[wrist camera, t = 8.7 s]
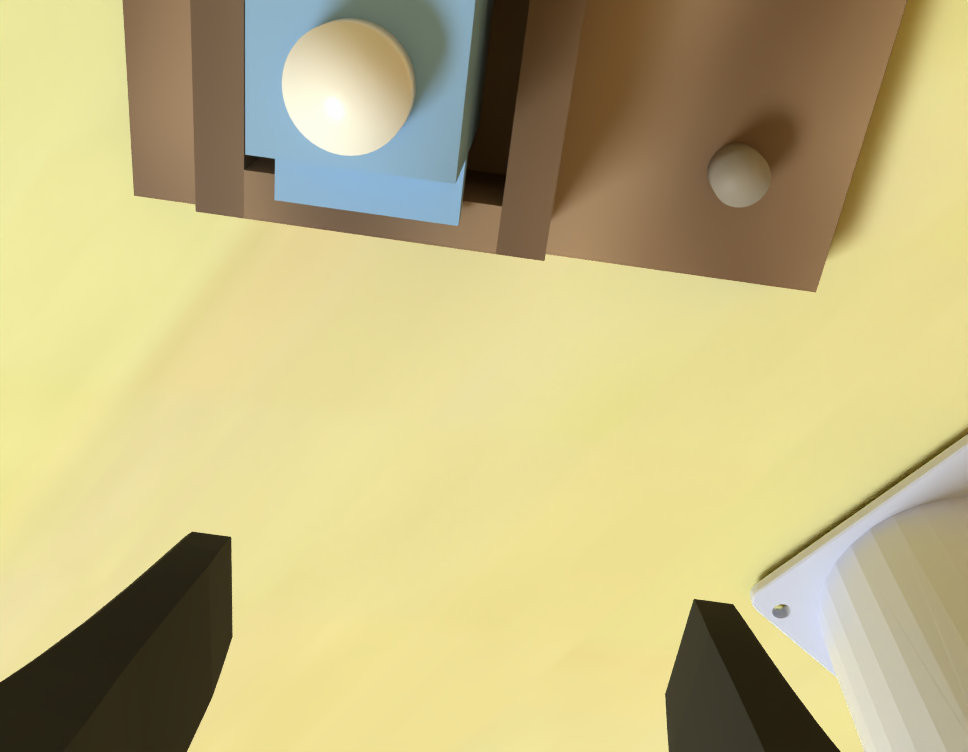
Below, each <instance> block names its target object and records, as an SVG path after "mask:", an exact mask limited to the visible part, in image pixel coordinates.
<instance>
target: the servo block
mask: <svg viewBox="0 0 968 752" xmlns="http://www.w3.org/2000/svg"><path fill="white" fill-rule="evenodd" d="M493 5H494V0H245V155H252V156H259V157H266V158H273V159H275V196H274V200H277V201H284V202H291V203H298V204H305V205H312V206H320V207H327V208H334V209H341V210H348V211H355V212H362V213H369V214H376V215H383V216H390V217H397V218H405V219H412V220H419V221H426V222H433V223H440V224H447V225H454V226H458V225H459V222H460V219H461V212H462V203H463V194H464V185H465V177H466V168H467V159H468V152H469V150H470V147H471V145H472V142H473V140H474V138H475V135H476V133H477V130H478V128H479V125H480V117H481V108H482V100H483V91H484V82H485V74H486V65H487V57H488V48H489V40H490V31H491V23H492V14H493Z"/></svg>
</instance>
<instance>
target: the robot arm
mask: <svg viewBox="0 0 968 752" xmlns="http://www.w3.org/2000/svg"><path fill="white" fill-rule="evenodd" d="M750 598H751V602H752V605H753V607H754V608H755V609H756V610H757V611H758V612H759V613H760V614H761V615H763V616H764V617H765V618H766V619H767V620H769V621H770V622H771V623H772V624H773V625H775V626H776V627H777V628H778V629H779V630H781V631H782V632H783V633H784V634H785V635H786V636H788V637H789V638H790V639H791V640H792V641H794V642H795V643H796V644H797V645H798V646H800V647H801V648H802V649H803V650H804V651H806V652H807V653H808V654H809V655H810V656H812V657H813V658H814V659H815V660H816V661H818V662H819V663H820V664H821V665H822V666H824V667H825V668H826V669H827V670H828V671H829V672H831V673H832V674H833V675H834V676H835V677H837V679H838V681H839V684H840V687H841V690H842V692H843V695H844V698H845V700H846V703H847V706H848V709H849V711H850V714H851V717H852V720H853V722H854V725H855V728H856V730H857V733H858V736H859V739H860V741H861V744H862V747H863V749H864V752H968V434H967V435H966V436H964V437H963V438H961V439H960V440H959V441H957V442H956V443H954V444H953V445H951V446H950V447H949V448H947V449H946V450H944V451H943V452H942V453H940V454H939V455H937V456H936V457H934V458H933V459H932V460H930V461H929V462H927V463H926V464H925V465H923V466H922V467H920V468H919V469H918V470H916V471H915V472H913V473H912V474H910V475H909V476H908V477H906V478H905V479H903V480H902V481H901V482H899V483H898V484H896V485H895V486H893V487H892V488H891V489H889V490H888V491H886V492H885V493H884V494H882V495H881V496H879V497H878V498H876V499H875V500H874V501H872V502H871V503H869V504H868V505H867V506H865V507H864V508H862V509H861V510H859V511H858V512H857V513H855V514H854V515H852V516H851V517H850V518H848V519H847V520H845V521H844V522H842V523H841V524H840V525H838V526H837V527H835V528H834V529H833V530H831V531H830V532H828V533H827V534H826V535H824V536H823V537H821V538H820V539H818V540H817V541H816V542H814V543H813V544H811V545H810V546H809V547H807V548H806V549H804V550H803V551H801V552H800V553H799V554H797V555H796V556H794V557H793V558H792V559H790V560H789V561H787V562H786V563H784V564H783V565H782V566H780V567H779V568H777V569H776V570H775V571H773V572H772V573H770V574H769V575H767V576H766V577H765V578H763V579H762V580H760V581H759V582H758V583H756V584H755V585H754V586H753V587H752V588H751V591H750ZM779 604H785V605H786V606H785V607H784V608H781V609H774V607H775V606H777V605H779ZM231 639H232V565H231V537H227V536H220V535H213V534H205V533H198V532H191V533H190V534H188V535H187V536H185V537H184V538H183V539H182V540H181V541H180V542H178V543H177V544H176V545H175V546H174V547H173V548H172V549H171V550H169V551H168V552H167V553H166V554H165V555H164V556H163V557H162V558H160V559H159V560H158V561H157V562H156V563H155V564H154V565H152V566H151V567H150V568H149V569H148V570H147V571H146V572H144V573H143V574H142V575H141V576H140V577H139V578H137V579H136V580H135V581H134V582H133V583H132V584H131V585H129V586H128V587H127V588H126V589H125V590H123V591H122V592H121V593H120V594H119V595H117V596H116V597H115V598H114V599H112V600H111V601H110V602H109V603H108V604H106V605H105V606H104V607H103V608H101V609H100V610H99V611H98V612H97V613H95V614H94V615H93V616H92V617H90V618H89V619H88V620H87V621H85V622H84V623H83V624H81V625H80V626H79V627H77V628H76V629H75V630H73V631H72V632H71V633H69V634H68V635H67V636H65V637H64V638H63V639H61V640H60V641H59V642H57V643H56V644H55V645H53V646H52V647H51V648H49V649H48V650H47V651H45V652H44V653H43V654H41V655H40V656H38V657H37V658H36V659H34V660H33V661H31V662H30V663H28V664H27V665H25V666H24V667H23V668H21V669H20V670H18V671H17V672H15V673H14V674H12V675H11V676H9V677H8V678H6V679H5V680H3V681H1V682H0V752H187V750H188V748H189V746H190V744H191V742H192V739H193V737H194V735H195V733H196V731H197V729H198V727H199V725H200V722H201V720H202V718H203V716H204V714H205V712H206V710H207V707H208V705H209V703H210V701H211V699H212V696H213V693H214V690H215V688H216V685H217V682H218V679H219V676H220V673H221V670H222V667H223V664H224V661H225V658H226V655H227V652H228V649H229V645H230V642H231ZM665 697H666V715H667V732H668V745H669V752H840V750H839V749H838V748H837V747H836V746H835V744H834V743H833V742H832V741H831V740H830V738H829V737H828V736H827V735H826V733H825V732H824V731H823V729H822V728H821V727H820V726H819V724H818V723H817V722H816V720H815V719H814V718H813V716H812V715H811V714H810V712H809V711H808V710H807V708H806V707H805V706H804V704H803V703H802V702H801V700H800V699H799V698H798V696H797V695H796V694H795V692H794V691H793V690H792V688H791V687H790V685H789V684H788V683H787V681H786V680H785V678H784V677H783V676H782V674H781V673H780V671H779V670H778V668H777V667H776V666H775V664H774V663H773V661H772V660H771V658H770V657H769V656H768V654H767V653H766V651H765V650H764V648H763V647H762V645H761V644H760V642H759V641H758V640H757V638H756V637H755V635H754V634H753V632H752V631H751V629H750V628H749V626H748V625H747V623H746V622H745V620H744V619H743V618H742V616H741V615H740V613H739V612H738V610H737V609H736V608H735V606H734V605H733V604H727V603H720V602H712V601H705V600H697V599H694V600H693V604H692V607H691V610H690V614H689V617H688V620H687V624H686V627H685V630H684V634H683V637H682V640H681V644H680V647H679V650H678V654H677V657H676V660H675V664H674V667H673V670H672V674H671V677H670V680H669V684H668V687H667V690H666V694H665Z"/></svg>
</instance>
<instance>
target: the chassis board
mask: <svg viewBox="0 0 968 752" xmlns="http://www.w3.org/2000/svg"><path fill="white" fill-rule="evenodd" d="M906 3H907V0H494V5H493V14H492V23H491V31H490V40H489V48H488V57H487V65H486V74H485V82H484V91H483V100H482V108H481V117H480V125H479V128H478V130H477V133H476V135H475V138H474V140H473V142H472V145H471V147H470V150H469V152H468V159H467V168H466V177H465V185H464V194H463V203H462V212H461V219H460V222H459V225H458V226H454V225H447V224H440V223H433V222H426V221H419V220H412V219H405V218H397V217H390V216H383V215H376V214H369V213H362V212H355V211H348V210H341V209H334V208H327V207H320V206H312V205H305V204H298V203H291V202H284V201H277V200H274V196H275V159H273V158H266V157H259V156H252V155H245V0H123V14H124V31H125V48H126V65H127V82H128V99H129V116H130V133H131V150H132V167H133V184H134V196H141V197H148V198H155V199H162V200H169V201H176V202H183V203H190V204H196V212H203V213H210V214H217V215H224V216H231V217H238V218H246V219H253V220H260V221H267V222H274V223H281V224H288V225H295V226H302V227H309V228H316V229H323V230H330V231H337V232H344V233H351V234H358V235H365V236H372V237H379V238H386V239H393V240H400V241H407V242H415V243H422V244H429V245H436V246H443V247H450V248H457V249H464V250H471V251H478V252H485V253H492V254H499V255H506V256H513V257H520V258H527V259H534V260H541V261H544V260H545V254H550V255H557V256H564V257H571V258H578V259H585V260H592V261H599V262H606V263H613V264H620V265H627V266H634V267H641V268H648V269H655V270H662V271H670V272H677V273H684V274H691V275H698V276H705V277H712V278H719V279H726V280H733V281H740V282H747V283H754V284H761V285H768V286H775V287H782V288H789V289H796V290H803V291H810V292H816V290H817V287H818V284H819V281H820V277H821V274H822V271H823V268H824V265H825V261H826V258H827V255H828V252H829V249H830V245H831V242H832V239H833V236H834V233H835V229H836V226H837V223H838V220H839V217H840V213H841V210H842V207H843V204H844V201H845V198H846V194H847V191H848V188H849V185H850V182H851V178H852V175H853V172H854V169H855V166H856V162H857V159H858V156H859V153H860V150H861V146H862V143H863V140H864V137H865V134H866V130H867V127H868V124H869V121H870V118H871V115H872V111H873V108H874V105H875V102H876V99H877V95H878V92H879V89H880V86H881V83H882V79H883V76H884V73H885V70H886V67H887V63H888V60H889V57H890V54H891V51H892V47H893V44H894V41H895V38H896V35H897V32H898V28H899V25H900V22H901V19H902V16H903V12H904V9H905V6H906Z"/></svg>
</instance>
